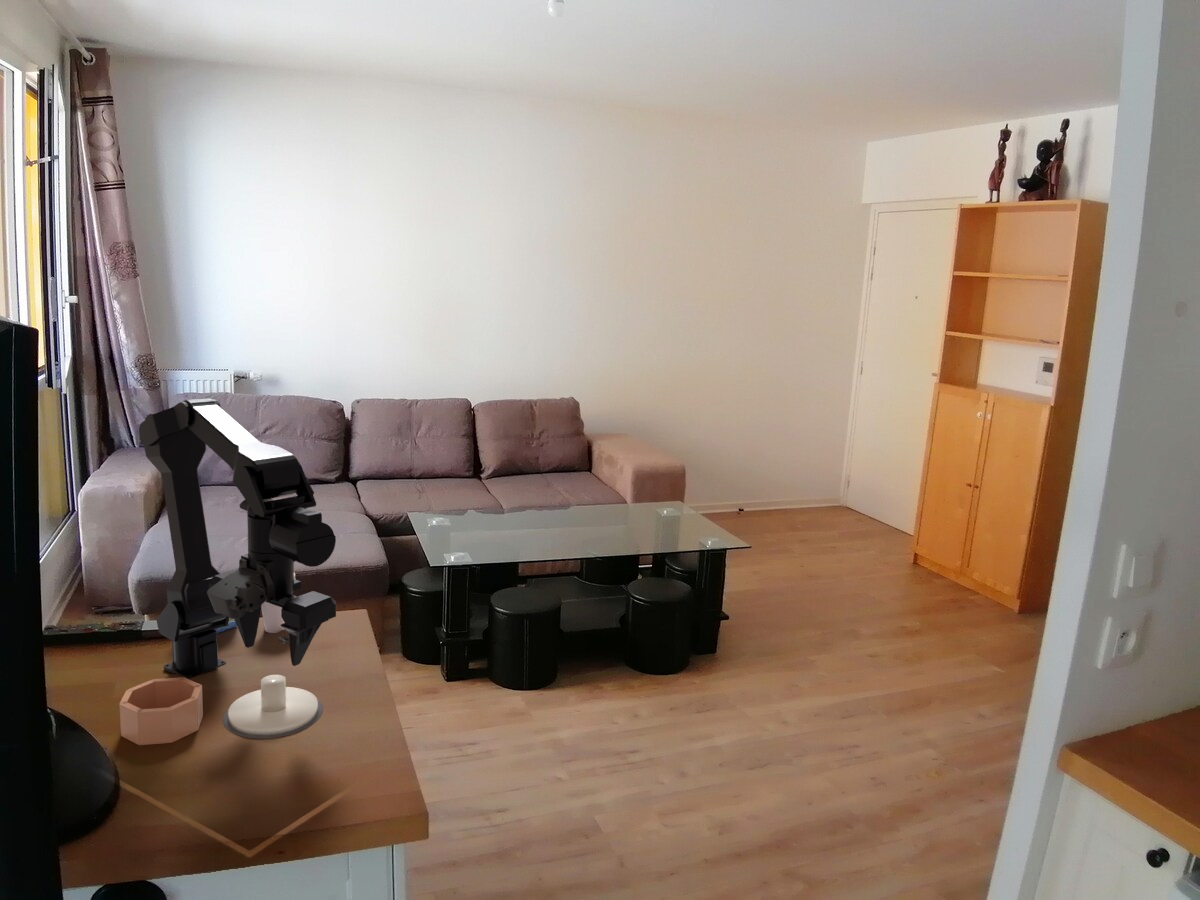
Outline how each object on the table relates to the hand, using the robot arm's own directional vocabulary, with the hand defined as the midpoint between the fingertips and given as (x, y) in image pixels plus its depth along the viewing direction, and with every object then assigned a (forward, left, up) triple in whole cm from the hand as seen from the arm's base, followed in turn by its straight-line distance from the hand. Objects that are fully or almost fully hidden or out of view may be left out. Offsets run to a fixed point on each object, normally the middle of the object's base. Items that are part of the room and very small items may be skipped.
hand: (272, 655), depth 119 cm
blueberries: (-17, +17, -10) cm, 26 cm away
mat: (0, 0, -9) cm, 9 cm away
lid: (0, 0, -9) cm, 9 cm away
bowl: (-9, -11, -9) cm, 16 cm away
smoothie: (-23, +20, -9) cm, 32 cm away
